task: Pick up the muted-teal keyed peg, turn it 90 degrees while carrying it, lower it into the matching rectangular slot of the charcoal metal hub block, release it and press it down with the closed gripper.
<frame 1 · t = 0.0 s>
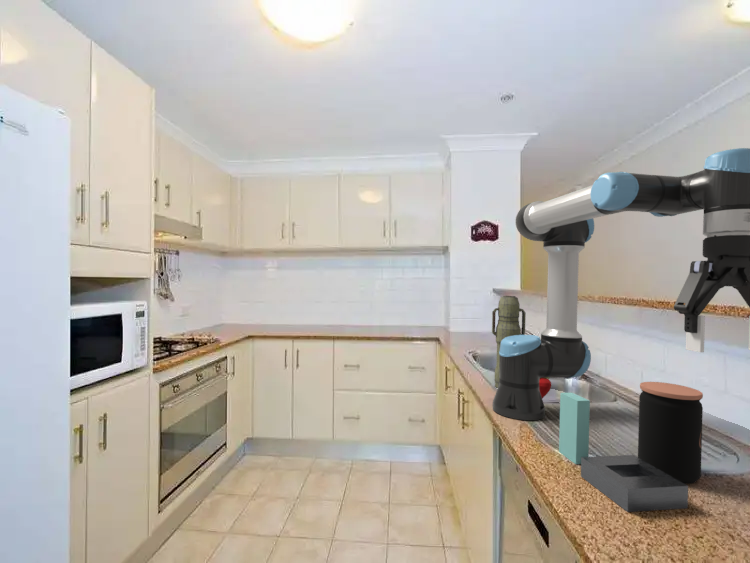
hand: (726, 351, 69), 28 cm above the worktop, tool pointing down, fingers open, 13 cm apart
coffee jar: (667, 473, 80), on the worktop
hub block: (630, 491, 72), on the worktop
strawberry: (540, 399, 130), on the worktop
keyed peg: (573, 457, 86), on the worktop
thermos: (506, 388, 142), on the worktop
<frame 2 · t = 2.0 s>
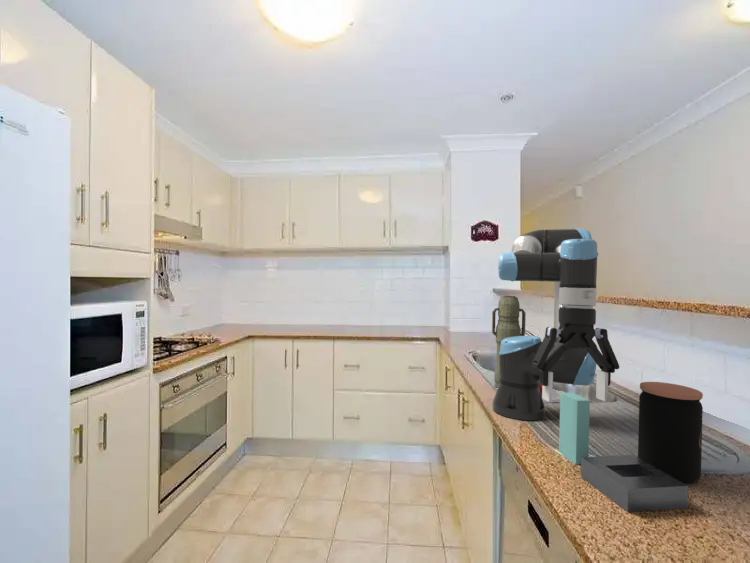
hand: (574, 400, 85), 13 cm above the worktop, tool pointing down, fingers open, 13 cm apart
nothing on the worktop moved.
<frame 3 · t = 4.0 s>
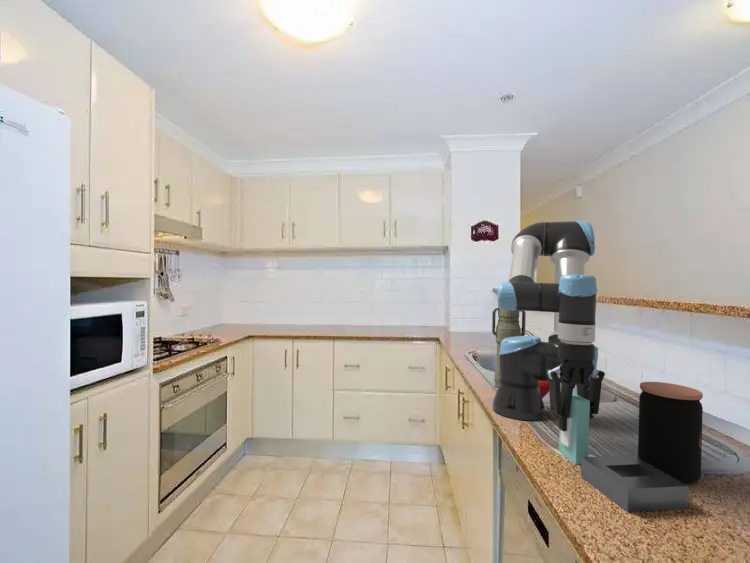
hand: (573, 444, 86), 3 cm above the worktop, tool pointing down, fingers closed on keyed peg, 3 cm apart
keyed peg: (573, 457, 86), on the worktop, touching gripper
everything else where it was.
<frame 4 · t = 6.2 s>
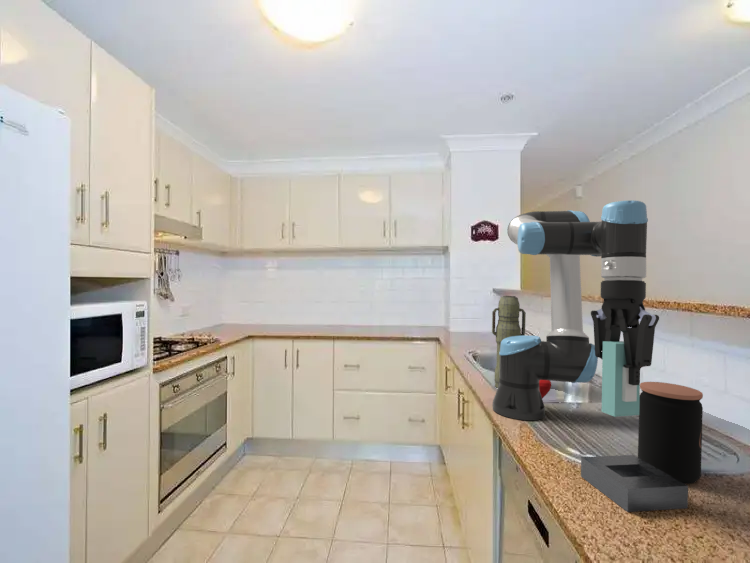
hand: (620, 397, 74), 17 cm above the worktop, tool pointing down, fingers closed on keyed peg, 3 cm apart
keyed peg: (620, 413, 74), point 14 cm above the worktop, touching gripper
everything else where it was.
when the fingers open (6 cm above the worktop, at t = 8.8 s): keyed peg drops 2 cm, resting in hub block.
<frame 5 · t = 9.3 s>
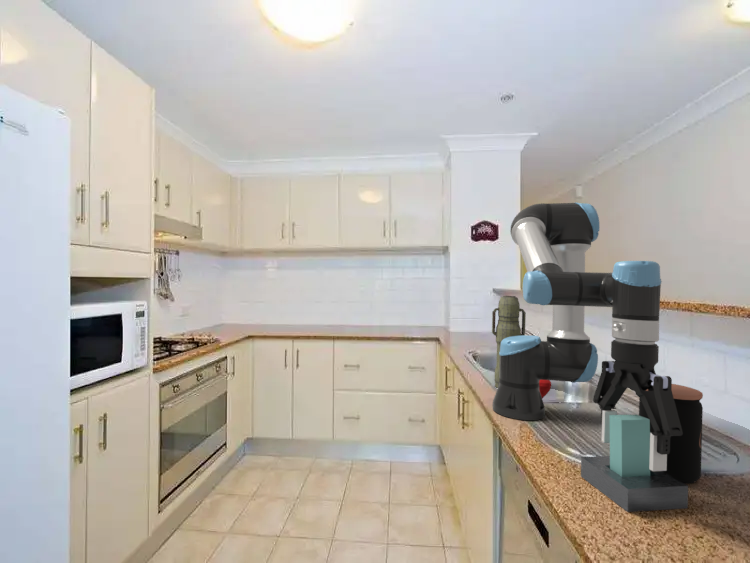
hand: (631, 455, 72), 7 cm above the worktop, tool pointing down, fingers open, 11 cm apart
keyed peg: (630, 490, 72), resting in hub block
everything else where it was.
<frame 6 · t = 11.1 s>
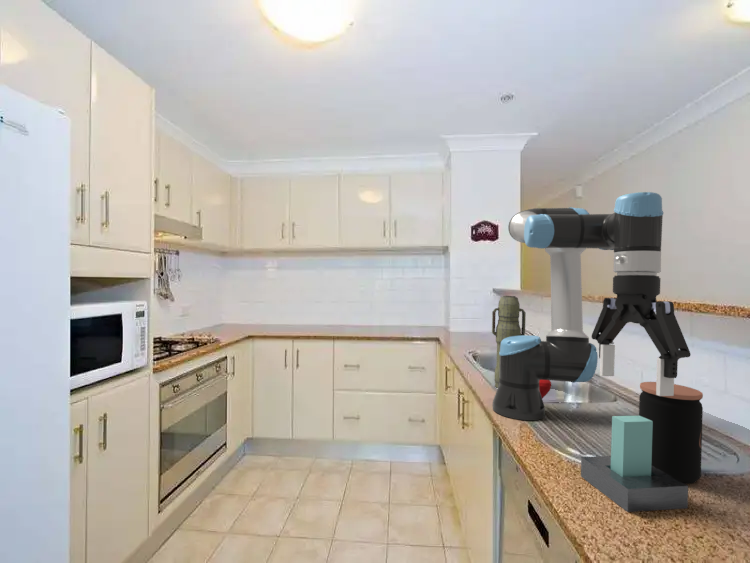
hand: (633, 384, 72), 21 cm above the worktop, tool pointing down, fingers open, 13 cm apart
nothing on the worktop moved.
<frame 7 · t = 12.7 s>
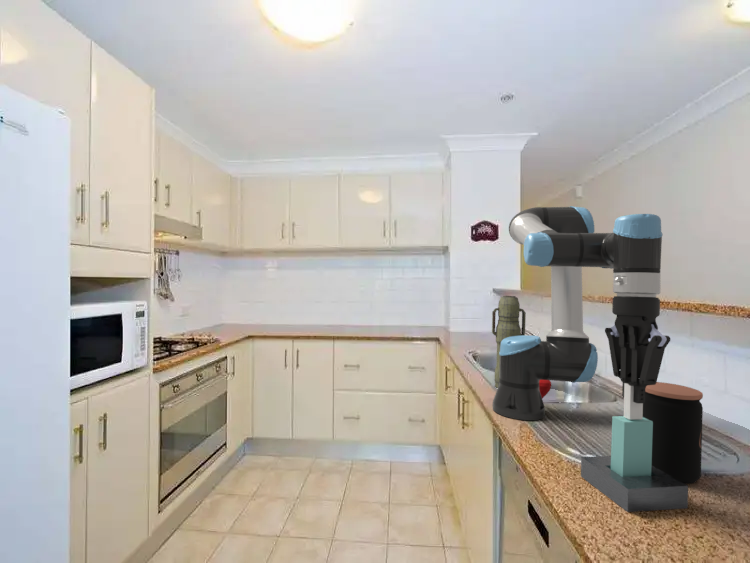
hand: (632, 417, 72), 14 cm above the worktop, tool pointing down, fingers closed
keyed peg: (630, 491, 72), resting in hub block, touching gripper
everything else where it was.
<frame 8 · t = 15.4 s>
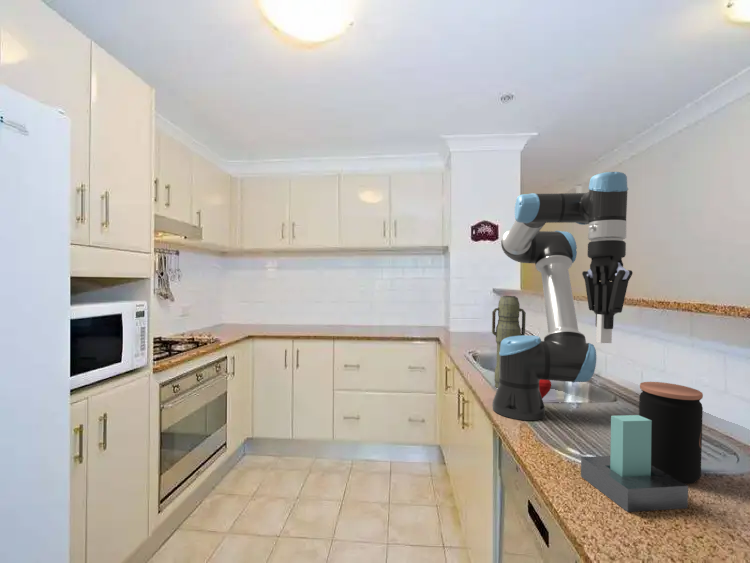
hand: (603, 342, 87), 26 cm above the worktop, tool pointing down, fingers closed
keyed peg: (630, 490, 72), resting in hub block
everything else where it was.
at the end: keyed peg 0.1 cm off-centre on the hub block, point 0.0 cm above the hub block's base; keyed peg tilted 1°; the gripper is holding nothing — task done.
